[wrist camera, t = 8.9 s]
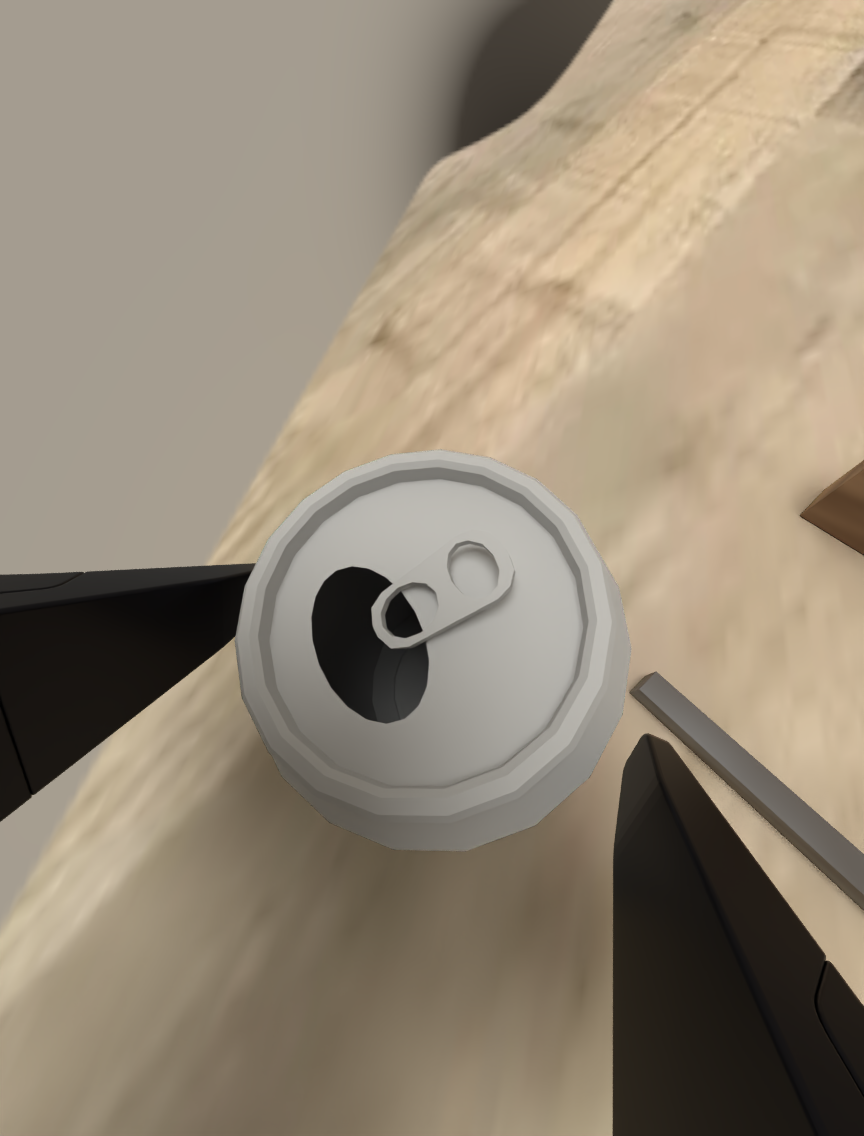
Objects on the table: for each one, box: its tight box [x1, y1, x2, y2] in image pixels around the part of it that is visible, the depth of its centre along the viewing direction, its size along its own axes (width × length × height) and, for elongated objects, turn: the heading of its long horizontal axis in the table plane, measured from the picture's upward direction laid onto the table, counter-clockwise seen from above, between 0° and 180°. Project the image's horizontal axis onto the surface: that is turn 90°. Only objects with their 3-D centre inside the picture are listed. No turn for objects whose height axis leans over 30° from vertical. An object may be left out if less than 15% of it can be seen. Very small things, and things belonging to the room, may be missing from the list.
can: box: [235, 449, 631, 851], centre depth 12 cm, size 8×8×12 cm
